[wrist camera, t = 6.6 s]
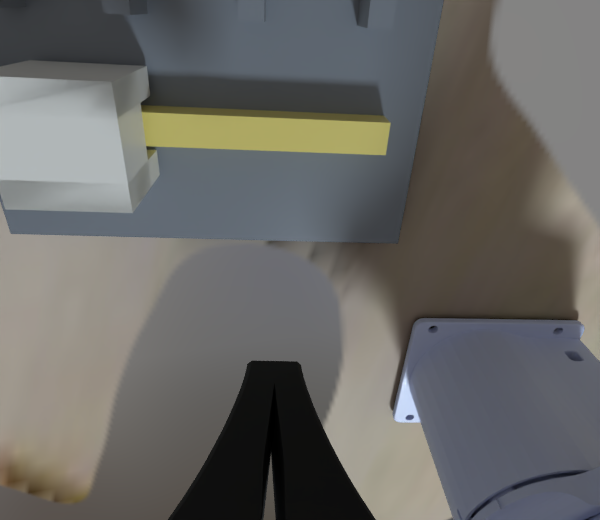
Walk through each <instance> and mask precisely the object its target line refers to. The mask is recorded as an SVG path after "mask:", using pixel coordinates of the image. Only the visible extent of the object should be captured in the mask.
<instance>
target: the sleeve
mask: <svg viewBox="0 0 600 520" xmlns="http://www.w3.org/2000/svg"><path fill="white" fill-rule="evenodd" d="M149 96H150V89H149V80H148V72H147V66H138V65H117V64H97V63H77V62H56V61H36V60H28V61H23V62H19V63H14V64H9V65H5V66H0V195H1V198H2V201H3V204H4V207H5V209H7V210H42V211H77V212H112V213H133V212H134V210H135V209H136V208H137V206H138V205H139V203H140V202H141V201H142V199H143V198H144V196H145V195H146V194H147V192H148V191H149V189H150V188H151V186H152V185H153V184H154V182H155V181H156V179H157V178H158V177H159V175H160V172H159V164H158V156H157V150H147V149H146V141H145V134H144V126H143V118H142V111H141V102H142V101H144V100H145V99H146V98H148V97H149Z"/></svg>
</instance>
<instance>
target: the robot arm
mask: <svg viewBox="0 0 600 520" xmlns="http://www.w3.org/2000/svg"><path fill="white" fill-rule="evenodd" d="M431 326H435V327H434V328H431V329H429V328H430V327H431ZM556 328H557V329H556ZM555 329H556V330H555ZM584 329H585V328H584V326H583V324H582V323H581V322H579V321H577V320H522V319H453V318H421V319H418V320H417V321H416V322H415V323H414V325H413V328H412V332H411V337H410V341H409V345H408V349H407V354H406V358H405V362H404V366H403V371H402V375H401V379H400V383H399V388H398V392H397V396H396V401H395V405H394V409H393V418H394V420H395V421H397V422H421V425H422V428H423V431H424V434H425V437H426V440H427V443H428V446H429V449H430V452H431V454H432V457H433V460H434V463H435V466H436V469H437V472H438V475H439V478H440V481H441V484H442V487H443V490H444V493H445V496H446V499H447V502H448V505H449V508H450V510H451V513H452V516H453V519H454V520H600V362H599V360H598V359H597V358H596V357H595V356H594V355H593V354H592V353H591V352H590V350H589V349H588V348H587V347H586V346H585V345H584V344H583V343H582V342H581V341H580V338H581V336H582V334H583V332H584ZM271 455H272V471H273V484H274V485H273V486H274V501H275V514H276V520H376V519H375V518H374V516H373V515H372V513H371V512H370V510H369V509H368V507H367V506H366V504H365V503H364V501H363V500H362V498H361V497H360V495H359V493H358V492H357V490H356V488H355V487H354V485H353V483H352V482H351V480H350V478H349V477H348V475H347V473H346V472H345V470H344V468H343V466H342V464H341V463H340V461H339V459H338V457H337V455H336V453H335V451H334V449H333V447H332V445H331V443H330V441H329V439H328V437H327V435H326V433H325V431H324V429H323V427H322V424H321V422H320V420H319V418H318V416H317V413H316V411H315V408H314V406H313V403H312V401H311V398H310V395H309V393H308V390H307V387H306V384H305V381H304V378H303V373H302V369H301V365H300V364H299V363H298V362H288V361H251V362H249V363H248V364H247V369H246V373H245V377H244V380H243V383H242V386H241V389H240V391H239V394H238V397H237V399H236V402H235V404H234V406H233V408H232V411H231V413H230V415H229V417H228V419H227V421H226V424H225V426H224V428H223V430H222V432H221V434H220V436H219V437H218V439H217V441H216V443H215V445H214V447H213V449H212V450H211V452H210V454H209V456H208V458H207V460H206V461H205V463H204V465H203V467H202V468H201V470H200V472H199V473H198V475H197V477H196V478H195V480H194V481H193V483H192V484H191V486H190V488H189V489H188V491H187V493H186V494H185V495H184V497H183V499H182V500H181V501H180V503H179V504H178V506H177V507H176V509H175V510H174V512H173V513H172V514H171V516H170V517H169V519H168V520H263V518H264V508H265V500H266V492H267V482H268V474H269V465H270V456H271Z"/></svg>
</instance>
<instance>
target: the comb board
mask: <svg viewBox="0 0 600 520" xmlns="http://www.w3.org/2000/svg"><path fill="white" fill-rule="evenodd" d="M443 2H444V0H0V66H5V65H9V64H14V63H19V62H23V61H28V60H36V61H56V62H77V63H97V64H117V65H138V66H147V72H148V80H149V89H150V96H149V97H148V98H146V99H145V100H144V101H142V102H141V111H142V118H143V126H144V134H145V141H146V149H147V150H157V156H158V164H159V172H160V175H159V177H158V178H157V179H156V181H155V182H154V184H153V185H152V186H151V188H150V189H149V191H148V192H147V194H146V195H145V196H144V198H143V199H142V201H141V202H140V203H139V205H138V206H137V208H136V209H135V210H134V212H133V213H112V212H77V211H42V210H7V209H5V207H4V204H3V201H2V198H1V195H0V202H1V205H2V208H3V211H4V214H5V217H6V220H7V223H8V226H9V229H10V232H11V234H40V235H80V236H119V237H159V238H198V239H238V240H278V241H317V242H357V243H396V244H398V240H399V235H400V230H401V224H402V219H403V214H404V209H405V203H406V198H407V193H408V187H409V182H410V177H411V171H412V166H413V161H414V156H415V150H416V145H417V140H418V134H419V129H420V124H421V118H422V113H423V108H424V103H425V97H426V92H427V87H428V81H429V76H430V71H431V65H432V60H433V55H434V50H435V44H436V39H437V34H438V28H439V23H440V18H441V12H442V7H443Z"/></svg>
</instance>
